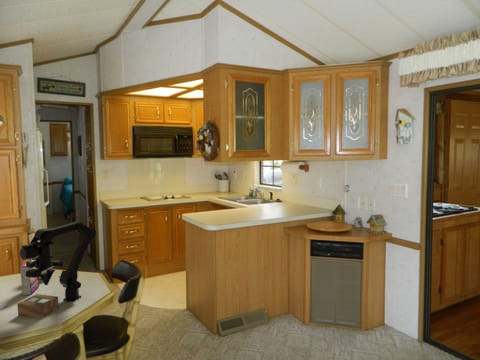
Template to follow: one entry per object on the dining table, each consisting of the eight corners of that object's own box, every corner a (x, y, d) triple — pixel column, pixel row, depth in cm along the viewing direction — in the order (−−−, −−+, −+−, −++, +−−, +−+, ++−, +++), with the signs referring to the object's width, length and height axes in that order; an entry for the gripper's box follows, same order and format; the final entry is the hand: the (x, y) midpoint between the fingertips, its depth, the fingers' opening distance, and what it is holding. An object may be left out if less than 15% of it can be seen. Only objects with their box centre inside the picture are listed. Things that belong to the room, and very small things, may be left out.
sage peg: (44, 310, 186) (43, 298, 186) (50, 311, 185) (49, 299, 185) (37, 313, 183) (36, 302, 182) (44, 314, 181) (43, 303, 181)
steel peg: (33, 308, 188) (32, 297, 188) (40, 309, 187) (39, 298, 187) (27, 312, 184) (26, 300, 184) (33, 313, 183) (32, 301, 183)
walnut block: (37, 305, 192) (37, 293, 192) (58, 308, 189) (58, 296, 188) (18, 315, 181) (17, 303, 180) (39, 318, 177) (39, 306, 177)
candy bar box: (29, 288, 216) (27, 260, 214) (38, 287, 216) (37, 259, 215) (21, 295, 205) (19, 266, 203) (31, 295, 205) (29, 266, 204)
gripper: (45, 248, 197) (47, 277, 199) (15, 259, 179) (17, 290, 181) (63, 249, 194) (64, 279, 196) (34, 260, 176) (36, 292, 178)
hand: (46, 285), depth 188 cm, fingers closed
